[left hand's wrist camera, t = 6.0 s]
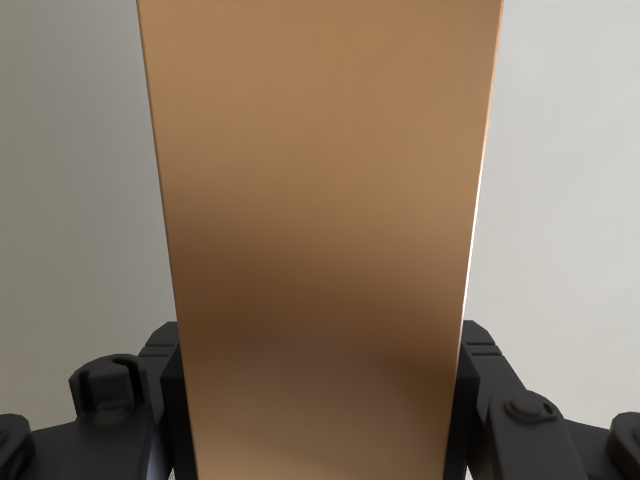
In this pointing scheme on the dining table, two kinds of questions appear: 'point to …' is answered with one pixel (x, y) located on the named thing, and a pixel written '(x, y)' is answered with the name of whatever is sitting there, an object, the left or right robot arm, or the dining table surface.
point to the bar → (320, 223)
